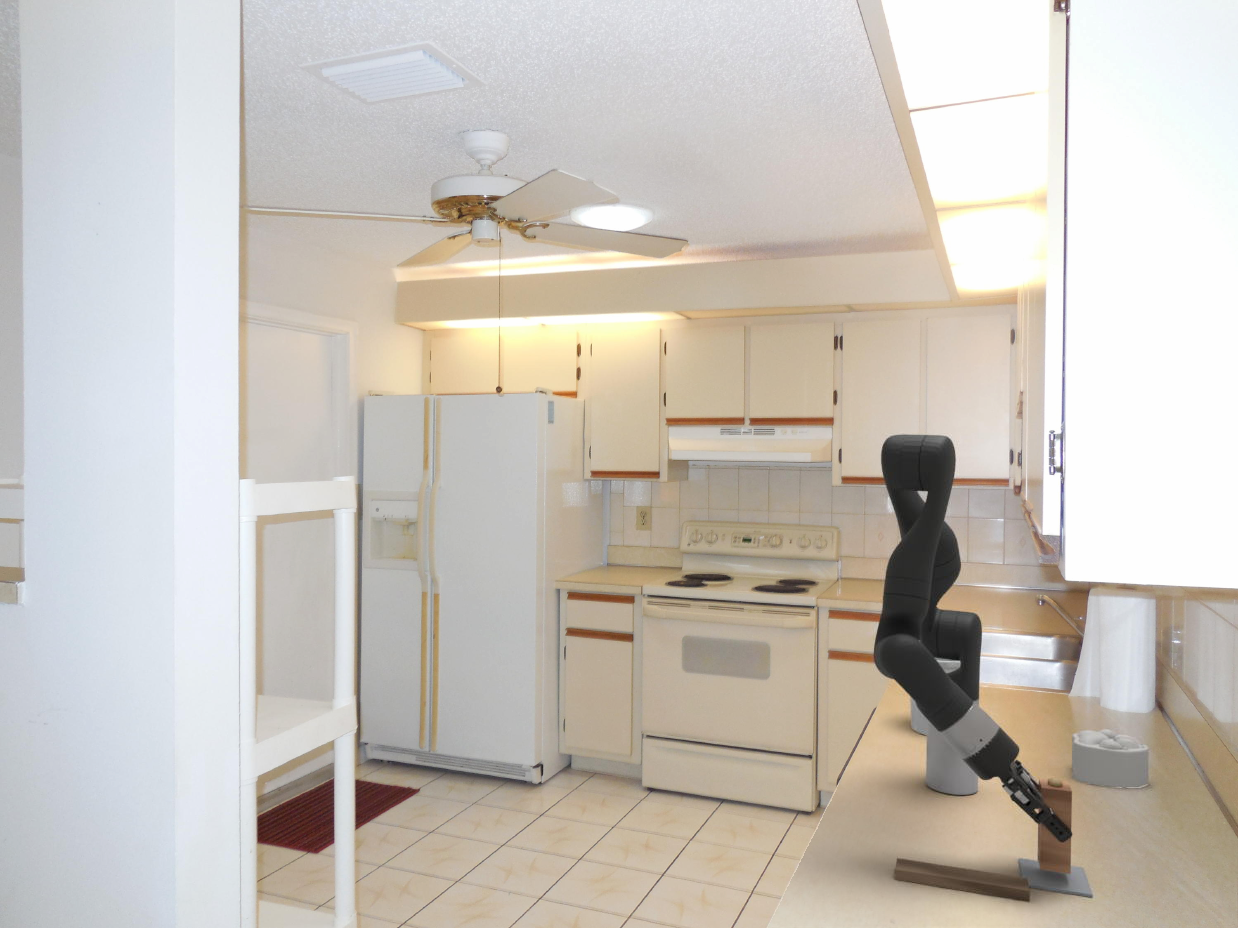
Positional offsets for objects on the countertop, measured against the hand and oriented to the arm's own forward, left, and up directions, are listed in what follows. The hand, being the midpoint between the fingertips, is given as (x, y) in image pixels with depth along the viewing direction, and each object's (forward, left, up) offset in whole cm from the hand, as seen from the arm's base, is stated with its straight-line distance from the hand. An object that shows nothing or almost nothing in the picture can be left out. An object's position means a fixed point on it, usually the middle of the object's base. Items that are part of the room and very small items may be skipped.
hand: (1065, 831), depth 132 cm
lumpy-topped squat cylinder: (-50, +14, -7) cm, 53 cm away
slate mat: (0, -1, -7) cm, 7 cm away
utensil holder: (-71, -17, -7) cm, 74 cm away
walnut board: (+7, -14, -7) cm, 18 cm away
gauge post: (0, -1, -5) cm, 5 cm away
